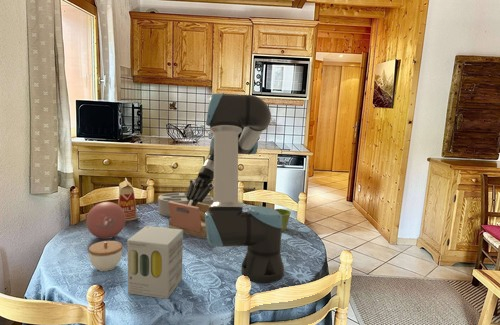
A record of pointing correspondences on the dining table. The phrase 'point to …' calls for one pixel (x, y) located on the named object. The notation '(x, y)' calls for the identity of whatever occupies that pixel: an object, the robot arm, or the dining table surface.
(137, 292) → the supplement box
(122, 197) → the milk carton
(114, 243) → the lidded jar
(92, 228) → the balloon
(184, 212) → the panel
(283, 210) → the plant pot
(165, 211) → the grey compartment organizer
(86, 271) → the dining table surface
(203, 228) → the tray
